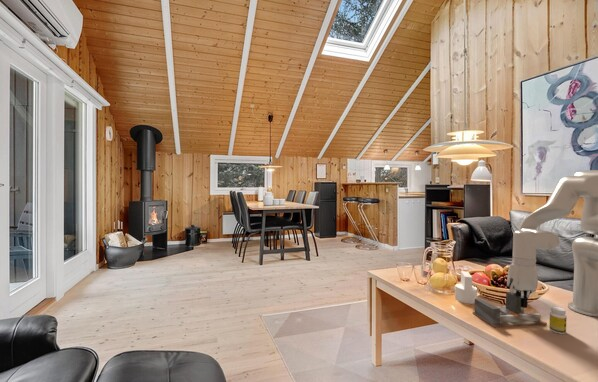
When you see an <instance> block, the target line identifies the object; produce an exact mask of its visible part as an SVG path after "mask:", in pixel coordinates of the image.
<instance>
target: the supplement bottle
mask: <svg viewBox="0 0 598 382" xmlns="http://www.w3.org/2000/svg"><path fill="white" fill-rule="evenodd" d="M550 309H551V310H550V312H549V325H548V327H549V330H550V331H551V332H552V333H556V334H560V335H565V334H566V333H567V320H568V319H567V315H566V309H564V308H562V307H559V306H551V308H550Z"/></svg>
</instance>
